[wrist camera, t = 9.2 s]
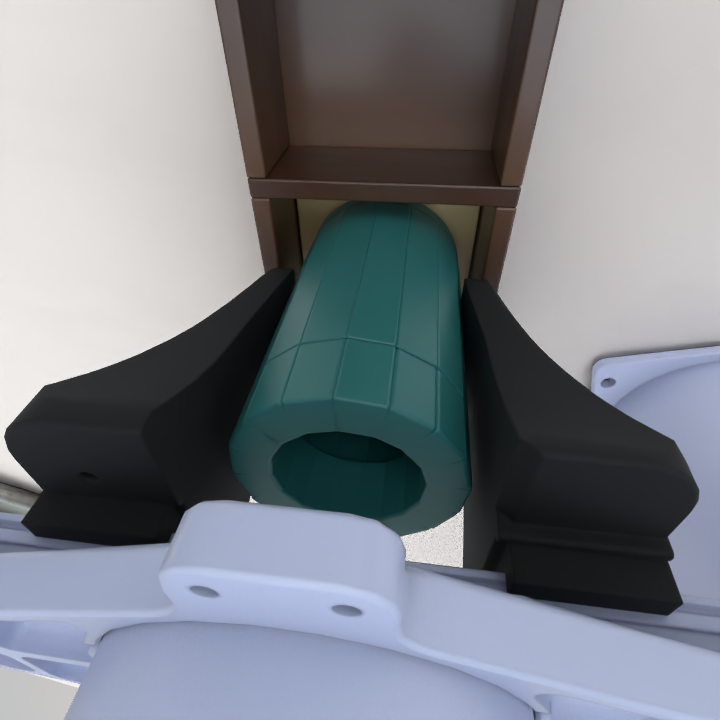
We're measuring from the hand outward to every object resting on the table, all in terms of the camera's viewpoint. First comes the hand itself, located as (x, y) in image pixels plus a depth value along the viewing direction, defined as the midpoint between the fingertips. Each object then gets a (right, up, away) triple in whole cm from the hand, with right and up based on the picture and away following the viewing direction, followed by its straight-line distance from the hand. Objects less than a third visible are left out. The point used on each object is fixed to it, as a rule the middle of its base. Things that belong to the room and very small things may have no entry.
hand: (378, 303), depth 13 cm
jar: (0, +2, +2) cm, 2 cm away
